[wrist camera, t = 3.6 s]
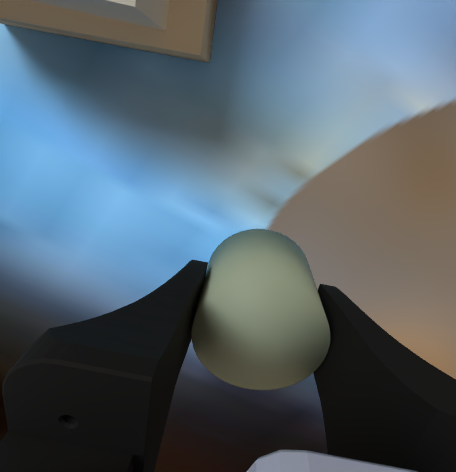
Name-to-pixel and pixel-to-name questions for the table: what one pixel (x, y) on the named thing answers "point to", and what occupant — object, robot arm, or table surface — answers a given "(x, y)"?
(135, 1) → the cream block
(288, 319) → the green capsule
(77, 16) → the birch base block
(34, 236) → the table surface
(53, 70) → the table surface
